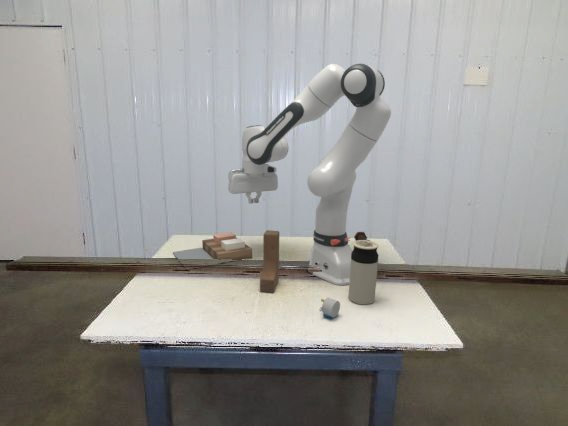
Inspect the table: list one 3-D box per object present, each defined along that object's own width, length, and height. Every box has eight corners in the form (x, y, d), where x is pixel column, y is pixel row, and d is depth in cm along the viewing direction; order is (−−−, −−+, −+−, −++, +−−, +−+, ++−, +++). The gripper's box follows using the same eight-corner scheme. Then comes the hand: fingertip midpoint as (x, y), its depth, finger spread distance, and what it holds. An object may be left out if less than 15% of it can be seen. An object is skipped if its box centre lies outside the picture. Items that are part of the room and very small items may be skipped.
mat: (218, 264, 138) (218, 263, 138) (186, 270, 132) (186, 269, 132) (201, 248, 155) (201, 247, 155) (172, 253, 149) (172, 252, 149)
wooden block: (273, 293, 116) (274, 239, 112) (259, 291, 117) (259, 238, 113) (278, 281, 125) (279, 230, 121) (265, 280, 126) (266, 229, 121)
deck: (252, 258, 146) (252, 248, 145) (218, 264, 139) (218, 254, 138) (233, 244, 162) (233, 235, 161) (202, 249, 155) (202, 240, 154)
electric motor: (327, 307, 108) (328, 292, 107) (341, 313, 105) (342, 297, 104) (314, 316, 103) (314, 300, 101) (328, 322, 100) (329, 306, 99)
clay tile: (236, 241, 153) (235, 235, 153) (217, 243, 149) (217, 238, 149) (231, 237, 158) (231, 232, 157) (213, 240, 154) (213, 234, 153)
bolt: (367, 257, 155) (357, 244, 169) (378, 251, 154) (367, 239, 169) (361, 246, 153) (352, 234, 168) (372, 240, 153) (362, 229, 167)
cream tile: (244, 247, 146) (244, 241, 145) (225, 250, 142) (225, 244, 141) (239, 243, 150) (239, 238, 149) (221, 246, 146) (221, 240, 145)
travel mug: (355, 306, 109) (359, 249, 105) (344, 294, 116) (347, 240, 112) (379, 303, 111) (384, 247, 107) (366, 292, 118) (371, 238, 114)
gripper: (231, 170, 135) (232, 207, 138) (280, 168, 145) (279, 202, 149) (225, 168, 140) (226, 203, 144) (272, 166, 150) (272, 199, 154)
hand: (253, 203), depth 146 cm, fingers closed
